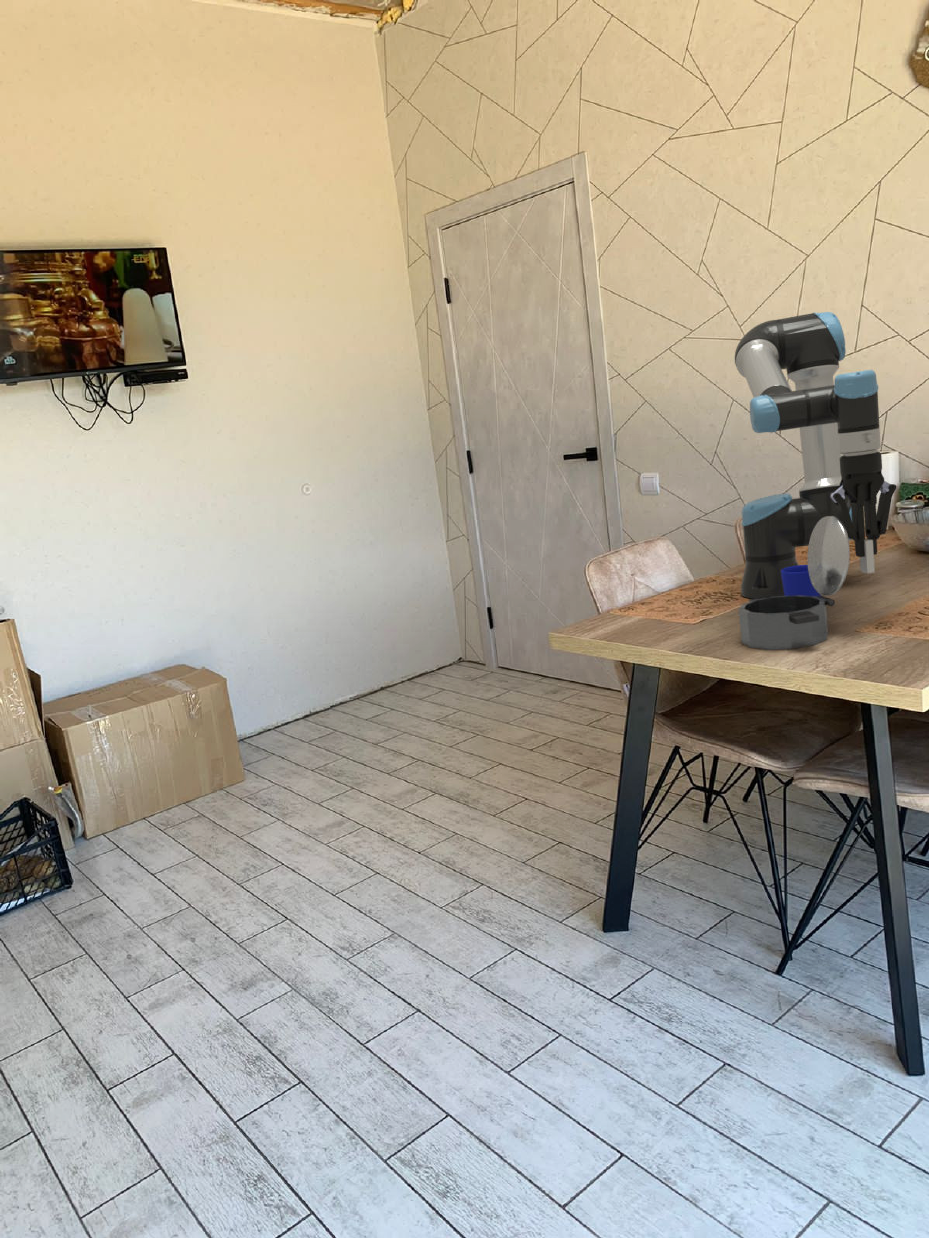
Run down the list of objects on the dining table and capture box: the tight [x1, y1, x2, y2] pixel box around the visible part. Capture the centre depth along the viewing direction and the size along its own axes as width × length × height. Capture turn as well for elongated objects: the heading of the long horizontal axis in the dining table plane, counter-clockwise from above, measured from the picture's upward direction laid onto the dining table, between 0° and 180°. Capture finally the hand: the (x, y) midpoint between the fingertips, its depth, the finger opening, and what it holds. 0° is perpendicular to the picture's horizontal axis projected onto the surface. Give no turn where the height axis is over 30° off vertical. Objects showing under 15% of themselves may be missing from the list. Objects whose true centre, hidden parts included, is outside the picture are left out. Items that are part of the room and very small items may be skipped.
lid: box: [806, 516, 851, 596], centre depth 184 cm, size 16×16×2 cm
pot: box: [738, 595, 836, 651], centre depth 186 cm, size 22×18×7 cm
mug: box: [781, 564, 822, 597], centre depth 205 cm, size 8×12×10 cm
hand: (867, 571), depth 186 cm, fingers closed
